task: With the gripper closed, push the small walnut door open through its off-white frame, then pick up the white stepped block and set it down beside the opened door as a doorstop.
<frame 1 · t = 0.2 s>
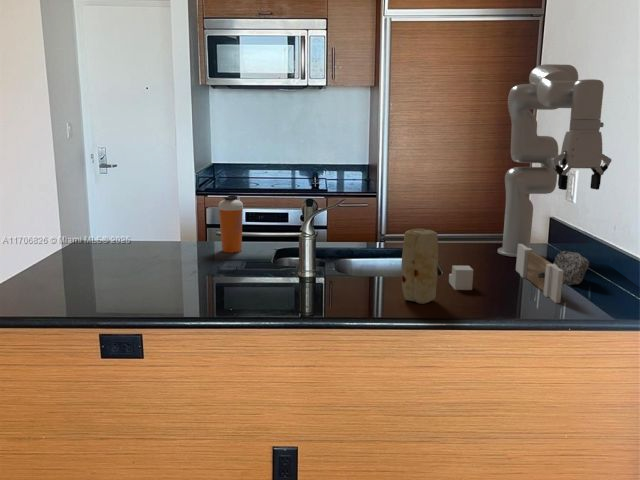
hand: (578, 189, 163), 30 cm above the table, fingers open, 9 cm apart
door frame: (528, 279, 182), on the table
door: (535, 271, 174), point 4 cm above the table, hinge at 0.0°
white stepped block: (461, 287, 173), on the table
shaker bottle: (231, 251, 215), on the table
food model: (418, 301, 160), on the table
rock: (567, 281, 181), on the table
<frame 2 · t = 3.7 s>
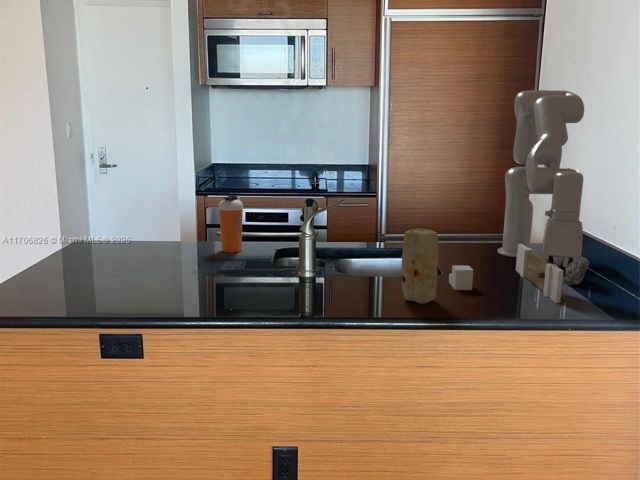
hand: (558, 278, 168), 4 cm above the table, fingers closed
door: (535, 271, 174), point 4 cm above the table, hinge at 0.0°, touching gripper
everything else where it was.
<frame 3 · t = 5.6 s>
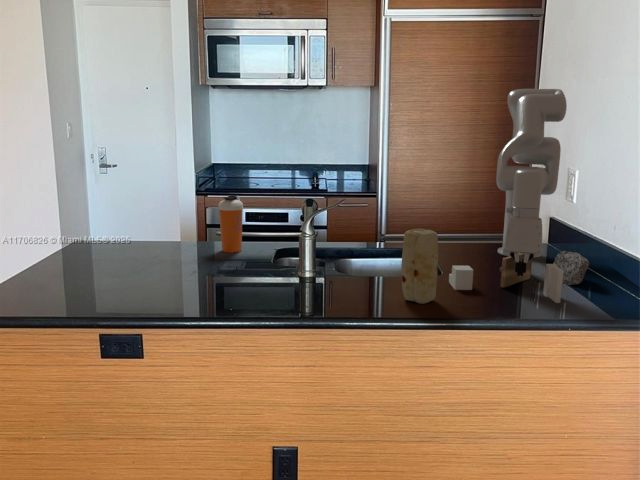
hand: (519, 274, 171), 4 cm above the table, fingers closed
door: (515, 268, 176), point 4 cm above the table, hinge at 48.5°, touching gripper
everything else where it was.
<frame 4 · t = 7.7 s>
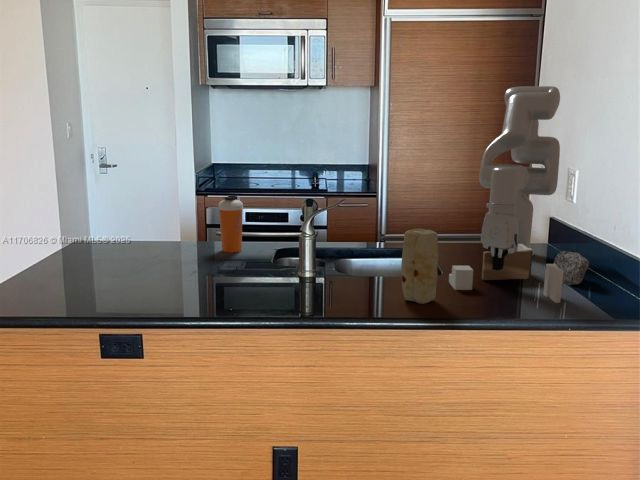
hand: (497, 269, 176), 4 cm above the table, fingers closed
door: (506, 265, 180), point 4 cm above the table, hinge at 82.6°, touching gripper
everything else where it was.
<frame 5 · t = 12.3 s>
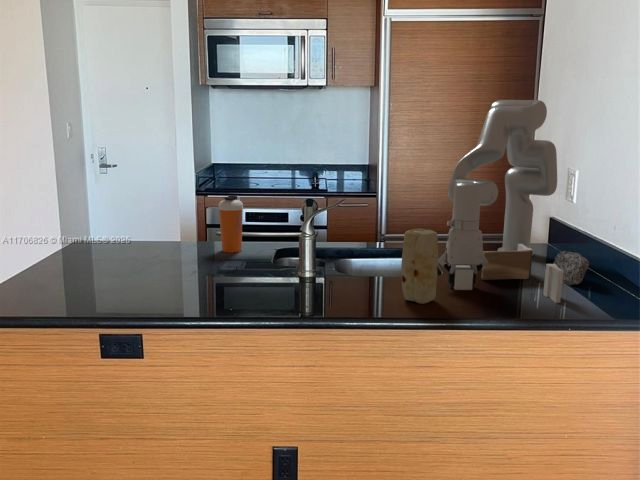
hand: (461, 285, 172), 1 cm above the table, fingers closed on white stepped block, 5 cm apart
door: (506, 265, 181), point 4 cm above the table, hinge at 84.0°
white stepped block: (461, 287, 173), on the table, touching gripper
everything else where it was.
when the fingers open (2 cm above the table, at t = 17.9 s): white stepped block drops 1 cm, on the table.
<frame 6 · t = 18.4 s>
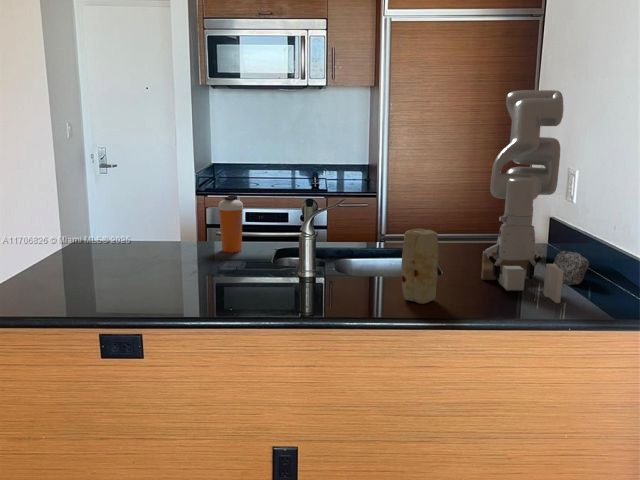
hand: (512, 277, 172), 3 cm above the table, fingers open, 9 cm apart
white stepped block: (512, 287, 173), on the table
everything else where it was.
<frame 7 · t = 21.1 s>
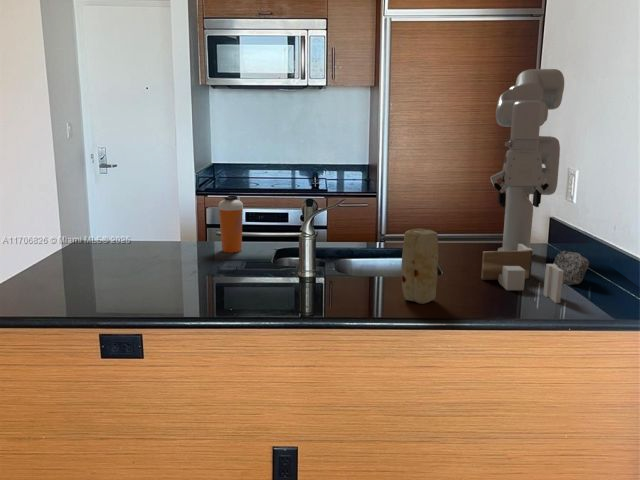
hand: (518, 206, 168), 24 cm above the table, fingers open, 9 cm apart
nothing on the table moved.
at the end: door at +84° (first picture: +0°); white stepped block inside the target area (0.8 cm from its centre), on the table; white stepped block tilted 0° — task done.
